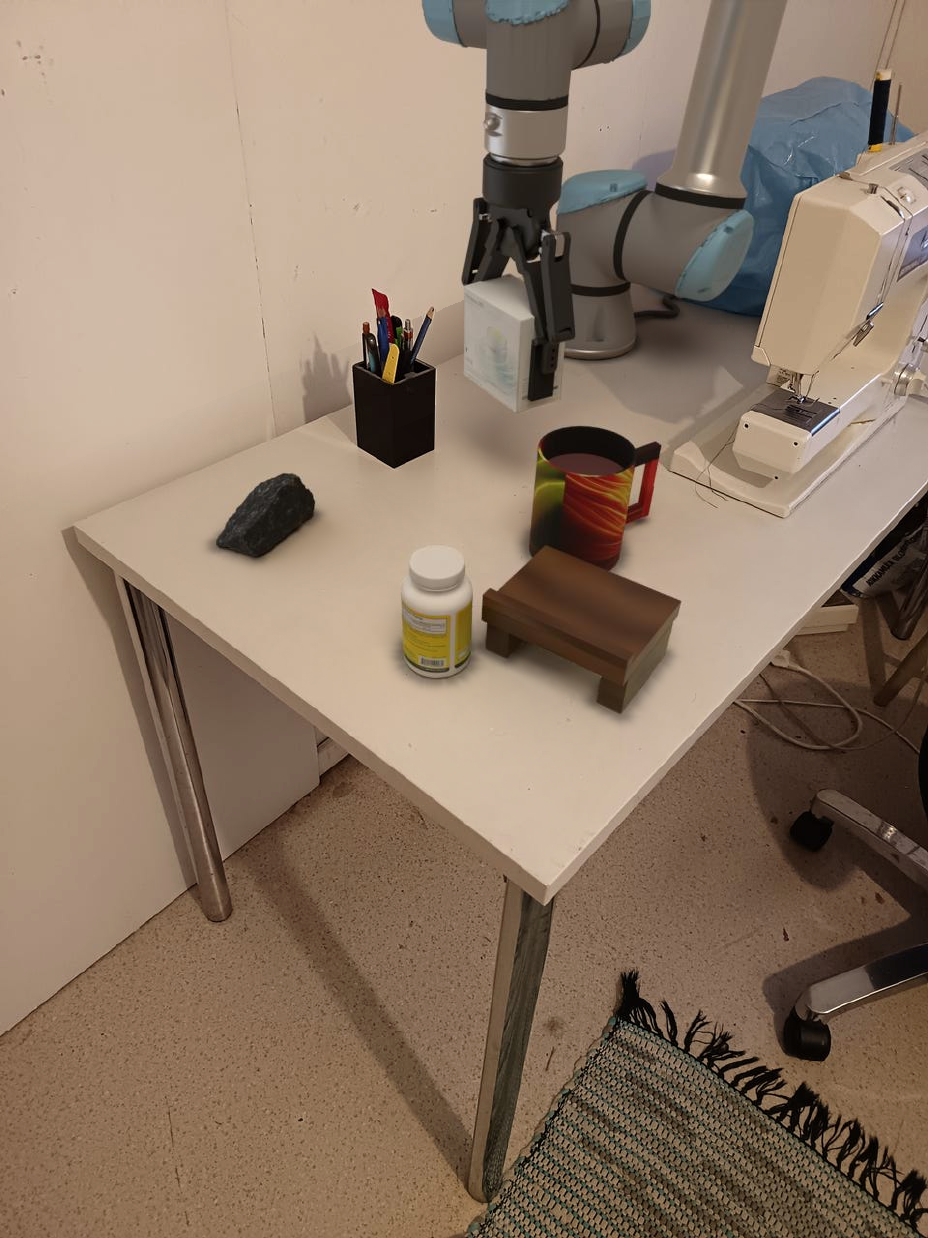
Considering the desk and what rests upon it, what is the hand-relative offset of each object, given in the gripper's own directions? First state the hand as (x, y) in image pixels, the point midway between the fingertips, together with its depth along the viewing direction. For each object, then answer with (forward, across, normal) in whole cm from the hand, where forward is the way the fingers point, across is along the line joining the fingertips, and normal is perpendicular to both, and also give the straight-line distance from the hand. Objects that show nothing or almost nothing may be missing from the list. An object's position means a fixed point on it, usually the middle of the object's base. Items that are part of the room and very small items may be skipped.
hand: (511, 375), depth 96 cm
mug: (+12, +15, 0) cm, 20 cm away
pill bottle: (+12, +24, -23) cm, 35 cm away
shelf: (+12, +29, -11) cm, 34 cm away
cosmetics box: (+2, 0, 0) cm, 2 cm away
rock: (+12, -2, -29) cm, 32 cm away
